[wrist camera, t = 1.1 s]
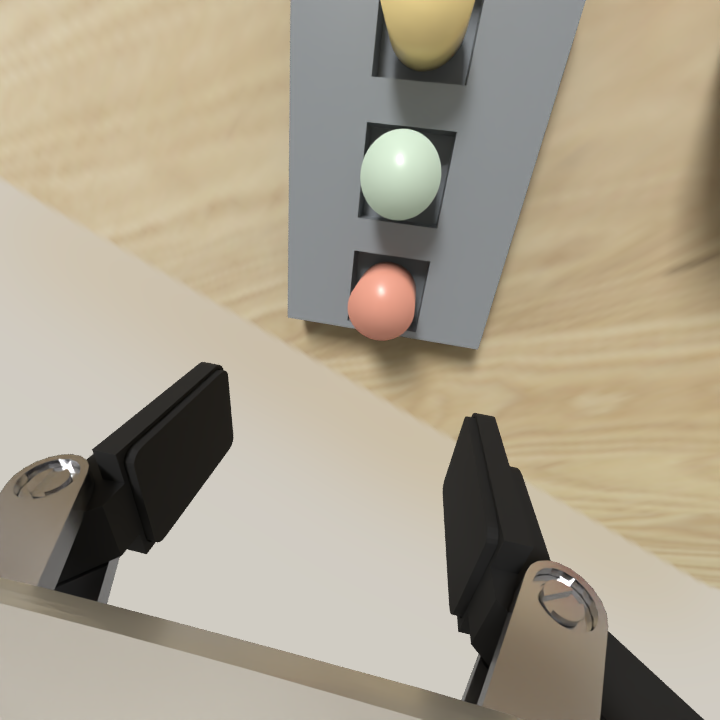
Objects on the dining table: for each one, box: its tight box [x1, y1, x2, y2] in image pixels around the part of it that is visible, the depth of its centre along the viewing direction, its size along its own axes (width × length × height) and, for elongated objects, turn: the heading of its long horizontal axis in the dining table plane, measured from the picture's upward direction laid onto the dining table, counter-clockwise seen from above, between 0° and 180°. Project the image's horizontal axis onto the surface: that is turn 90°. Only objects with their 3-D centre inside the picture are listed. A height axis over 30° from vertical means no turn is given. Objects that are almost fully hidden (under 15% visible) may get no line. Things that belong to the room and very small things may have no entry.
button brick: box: [348, 262, 416, 341], centre depth 22 cm, size 4×4×4 cm
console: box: [288, 0, 586, 349], centre depth 21 cm, size 14×20×3 cm
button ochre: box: [380, 0, 475, 72], centre depth 15 cm, size 4×4×4 cm
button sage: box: [360, 129, 441, 220], centre depth 19 cm, size 4×4×4 cm
